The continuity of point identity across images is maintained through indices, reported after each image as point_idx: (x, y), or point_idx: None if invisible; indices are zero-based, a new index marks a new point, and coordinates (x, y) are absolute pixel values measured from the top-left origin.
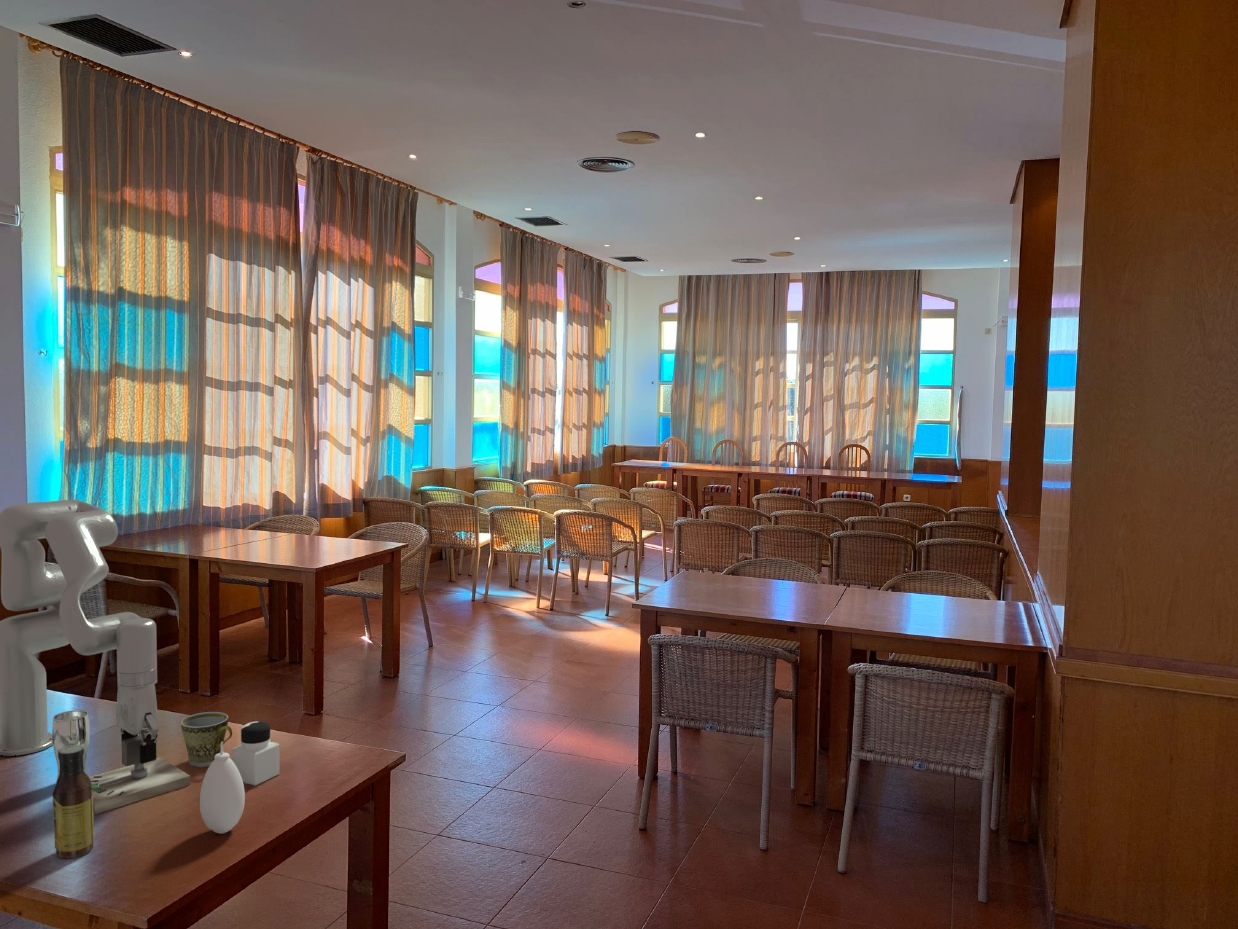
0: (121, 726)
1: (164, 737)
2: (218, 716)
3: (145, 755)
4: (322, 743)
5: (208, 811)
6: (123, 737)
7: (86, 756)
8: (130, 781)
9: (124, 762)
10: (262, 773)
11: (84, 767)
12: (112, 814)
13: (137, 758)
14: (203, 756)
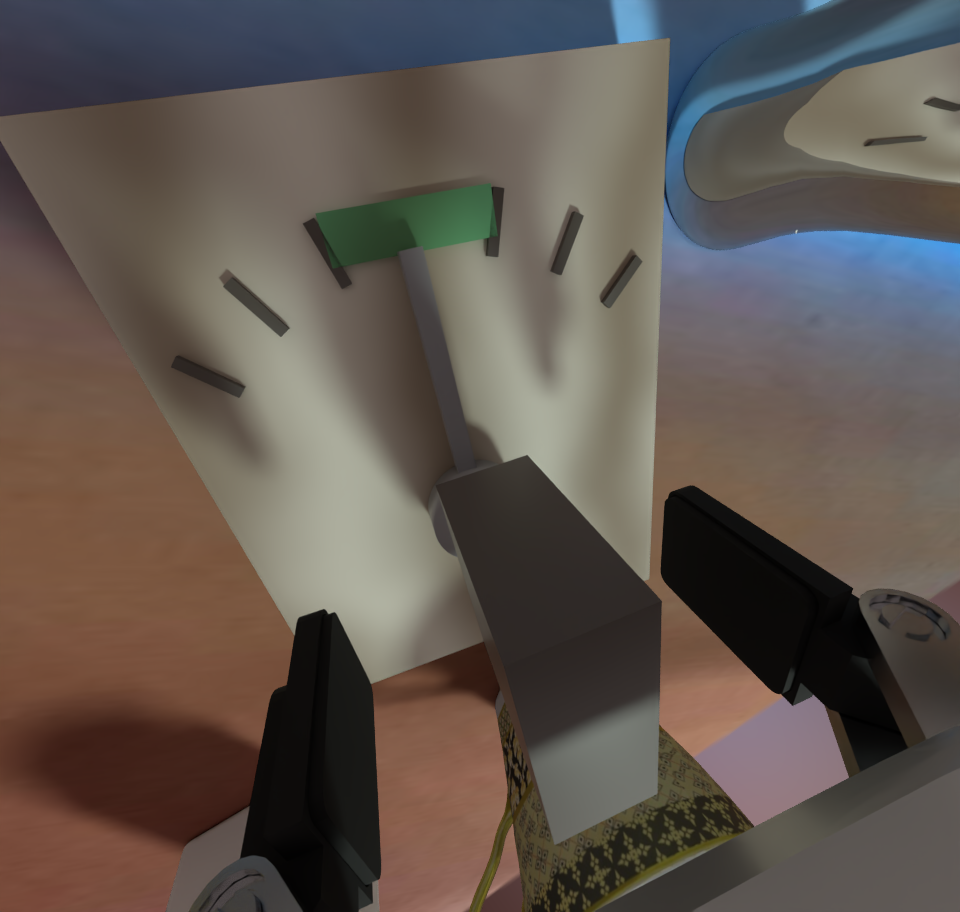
0: (949, 869)
1: (838, 565)
2: None
3: (279, 719)
4: (469, 897)
5: None
6: (783, 584)
7: (862, 222)
8: (423, 450)
9: (486, 482)
10: None
11: (773, 208)
12: (10, 271)
13: (466, 580)
14: (511, 729)
